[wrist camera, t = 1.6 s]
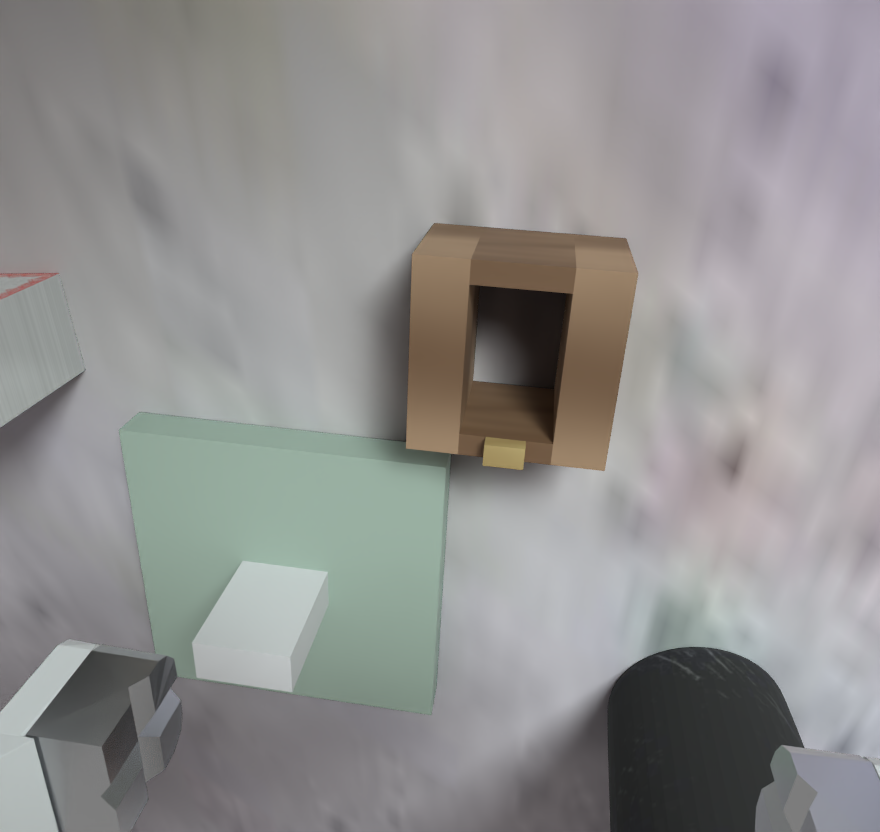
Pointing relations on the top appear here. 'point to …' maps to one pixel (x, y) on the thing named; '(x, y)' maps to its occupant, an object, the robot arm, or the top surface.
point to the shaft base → (291, 557)
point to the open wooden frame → (510, 406)
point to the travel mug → (693, 742)
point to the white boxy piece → (34, 341)
